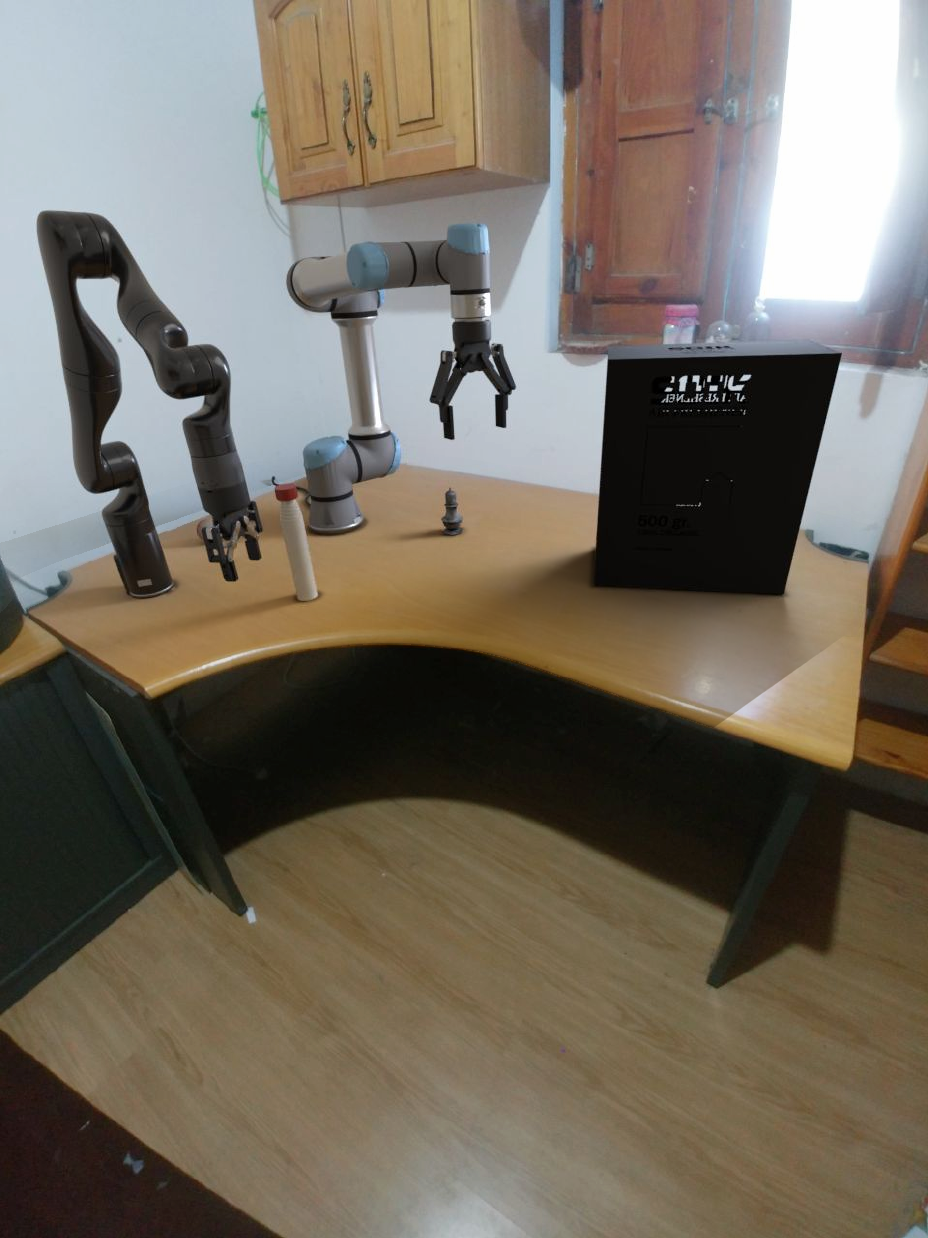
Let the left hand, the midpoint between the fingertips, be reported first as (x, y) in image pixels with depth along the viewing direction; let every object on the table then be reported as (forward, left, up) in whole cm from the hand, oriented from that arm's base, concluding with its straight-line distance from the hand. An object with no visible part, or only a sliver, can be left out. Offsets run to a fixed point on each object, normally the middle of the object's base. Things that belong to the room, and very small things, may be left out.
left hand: (244, 569), depth 106 cm
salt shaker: (+24, +60, -17) cm, 67 cm away
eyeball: (-40, +49, -17) cm, 66 cm away
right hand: (+35, +39, +14) cm, 55 cm away
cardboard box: (+80, +41, -17) cm, 92 cm away
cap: (0, +21, +8) cm, 23 cm away
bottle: (-1, +21, -17) cm, 27 cm away
